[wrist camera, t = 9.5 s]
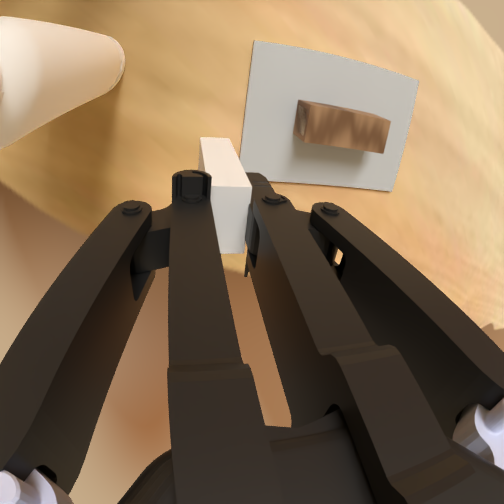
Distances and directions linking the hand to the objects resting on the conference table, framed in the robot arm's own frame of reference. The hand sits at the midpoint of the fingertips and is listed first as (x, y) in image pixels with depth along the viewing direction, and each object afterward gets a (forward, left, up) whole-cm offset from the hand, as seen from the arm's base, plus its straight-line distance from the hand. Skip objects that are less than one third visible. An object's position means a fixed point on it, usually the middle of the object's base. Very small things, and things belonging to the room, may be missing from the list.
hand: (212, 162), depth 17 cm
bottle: (-5, -13, -23) cm, 27 cm away
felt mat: (0, +18, -23) cm, 29 cm away
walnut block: (0, +12, -20) cm, 23 cm away
